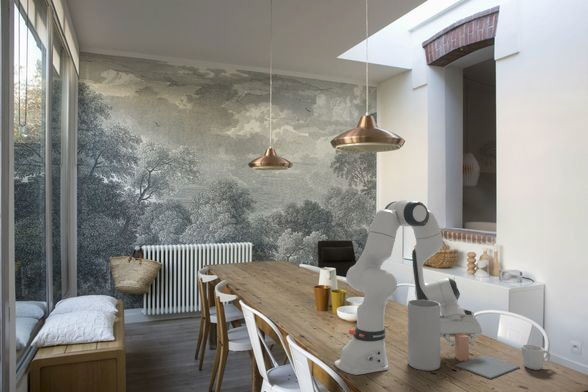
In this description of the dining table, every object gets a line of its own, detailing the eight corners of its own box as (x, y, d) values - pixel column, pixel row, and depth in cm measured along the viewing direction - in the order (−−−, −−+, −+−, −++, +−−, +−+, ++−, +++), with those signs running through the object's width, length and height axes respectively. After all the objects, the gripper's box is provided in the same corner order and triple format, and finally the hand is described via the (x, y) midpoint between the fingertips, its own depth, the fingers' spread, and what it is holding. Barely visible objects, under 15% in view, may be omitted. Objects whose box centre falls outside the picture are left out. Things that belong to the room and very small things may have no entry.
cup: (543, 363, 174) (543, 344, 174) (556, 371, 166) (556, 350, 166) (517, 363, 173) (517, 344, 174) (529, 371, 165) (529, 351, 166)
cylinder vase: (415, 357, 180) (415, 298, 181) (444, 364, 173) (444, 302, 173) (402, 366, 171) (402, 303, 171) (433, 374, 163) (433, 308, 163)
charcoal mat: (490, 379, 158) (490, 377, 158) (455, 366, 171) (455, 364, 171) (519, 367, 169) (519, 366, 169) (484, 356, 182) (484, 354, 182)
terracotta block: (459, 360, 177) (459, 336, 177) (455, 357, 181) (455, 333, 181) (468, 360, 177) (468, 336, 177) (464, 357, 181) (464, 333, 181)
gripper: (431, 312, 185) (440, 342, 175) (476, 311, 186) (488, 341, 177) (427, 319, 190) (436, 349, 180) (472, 319, 191) (483, 348, 181)
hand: (462, 345), depth 178 cm, fingers open, 7 cm apart
